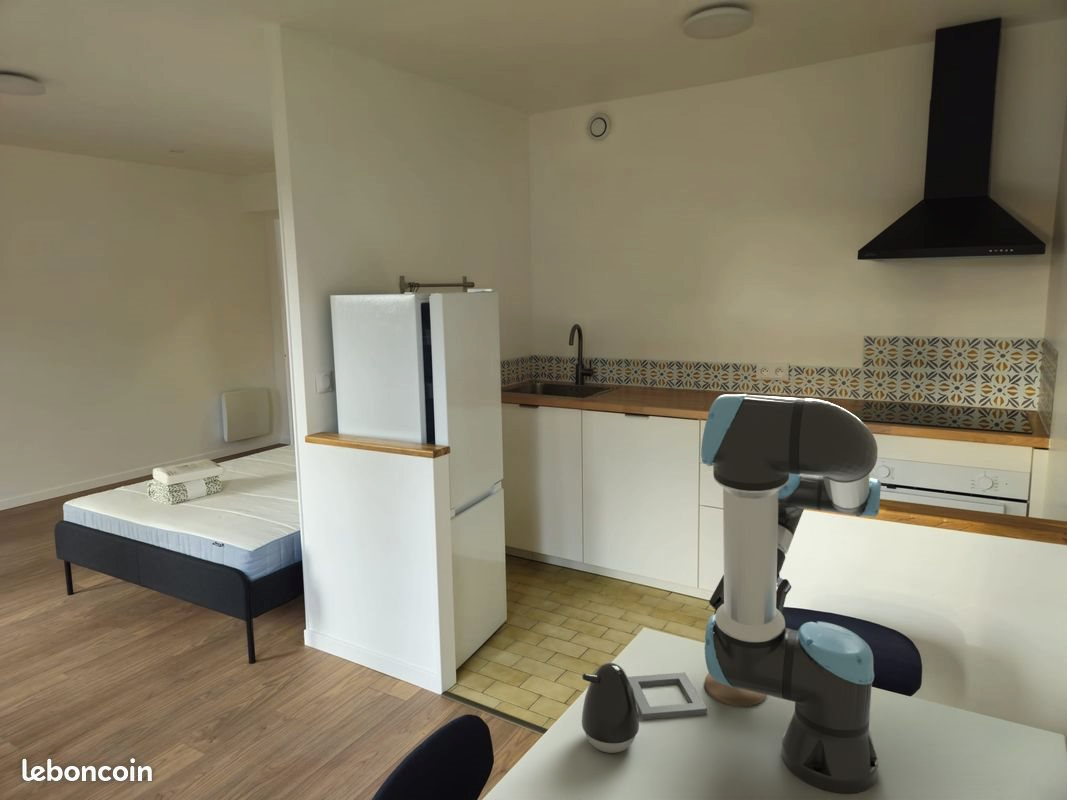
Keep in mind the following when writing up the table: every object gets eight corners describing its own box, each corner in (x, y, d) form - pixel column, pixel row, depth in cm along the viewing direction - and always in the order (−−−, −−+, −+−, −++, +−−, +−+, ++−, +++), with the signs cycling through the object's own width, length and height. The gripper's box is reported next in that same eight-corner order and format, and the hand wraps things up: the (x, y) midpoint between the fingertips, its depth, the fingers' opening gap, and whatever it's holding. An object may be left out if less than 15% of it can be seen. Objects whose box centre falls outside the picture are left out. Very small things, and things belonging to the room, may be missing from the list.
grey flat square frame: (706, 714, 133) (707, 708, 132) (642, 719, 131) (642, 714, 131) (684, 677, 145) (685, 672, 145) (626, 682, 143) (626, 677, 143)
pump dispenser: (572, 731, 128) (572, 655, 125) (624, 720, 131) (624, 646, 128) (593, 767, 118) (593, 686, 116) (648, 755, 121) (650, 675, 119)
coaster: (776, 703, 136) (777, 699, 135) (717, 708, 134) (717, 704, 134) (750, 670, 147) (750, 666, 147) (696, 674, 146) (696, 670, 146)
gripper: (819, 568, 142) (782, 675, 133) (730, 545, 155) (691, 640, 146) (810, 551, 137) (771, 661, 128) (720, 528, 150) (678, 626, 141)
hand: (728, 649), depth 137 cm, fingers closed on supplement bottle, 7 cm apart
